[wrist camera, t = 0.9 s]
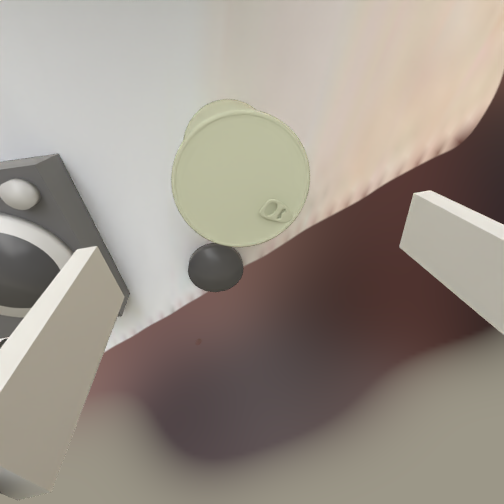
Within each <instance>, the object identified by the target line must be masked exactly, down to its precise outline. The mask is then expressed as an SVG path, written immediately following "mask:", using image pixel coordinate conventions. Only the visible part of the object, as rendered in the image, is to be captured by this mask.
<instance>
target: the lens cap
mask: <svg viewBox="0 0 504 504" xmlns="http://www.w3.org/2000/svg"><path fill="white" fill-rule="evenodd" d="M188 273H189V277H190V279H191V281H192V282H193V283H194V284H195V285H196V286H197V287H199V288H200V289H203V290H205V291H210V292H219V291H225V290H227V289H230V288H231V287H233V286H234V285H236V284H237V283H238V281H239V280H240V279H241V277H242V274H243V264H242V259H241V257H240V255H239V253H238V252H237V251H236V250H235V249H234V248H232V247H230V246H224V245H220V244H217V243H211V244H207V245H204V246H202V247H200V248H199V249H197V250H196V251H195V252H194V253H193V254H192V256H191V258H190V261H189V268H188Z"/></svg>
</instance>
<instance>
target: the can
mask: <svg viewBox="0 0 504 504" xmlns="http://www.w3.org/2000/svg"><path fill="white" fill-rule="evenodd" d="M171 184H172V192H173V197H174V200H175V203H176V206H177V208H178V210H179V212H180V214H181V215H182V217H183V218H184V220H185V221H186V222H187V224H188V225H189V226H190V227H191V228H192V229H193V230H194V231H195V232H197V233H198V234H199V235H201V236H202V237H204V238H206V239H208V240H210V241H212V242H214V243H217V244H220V245H224V246H230V247H248V246H253V245H257V244H261V243H264V242H266V241H269V240H271V239H272V238H274V237H276V236H277V235H279V234H280V233H282V232H283V231H284V230H285V229H287V228H288V227H289V226H290V225H291V224H292V223H293V221H294V220H295V219H296V217H297V216H298V214H299V213H300V211H301V209H302V208H303V205H304V203H305V201H306V198H307V195H308V191H309V184H310V168H309V162H308V158H307V155H306V152H305V150H304V147H303V145H302V144H301V142H300V140H299V139H298V137H297V136H296V134H295V133H294V132H293V131H292V130H291V129H290V128H289V127H288V126H287V125H286V124H285V123H283V122H282V121H280V120H279V119H277V118H275V117H273V116H271V115H269V114H267V113H264V112H261V111H257V110H256V109H255V108H253V107H252V106H250V105H248V104H246V103H244V102H241V101H238V100H232V99H223V100H217V101H214V102H211V103H209V104H207V105H205V106H204V107H202V108H201V109H200V110H199V111H198V112H197V113H196V114H195V115H194V116H193V117H192V119H191V120H190V122H189V124H188V126H187V128H186V131H185V135H184V140H183V142H182V144H181V145H180V147H179V149H178V151H177V154H176V156H175V159H174V163H173V168H172V175H171Z"/></svg>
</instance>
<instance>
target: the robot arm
mask: <svg viewBox="0 0 504 504" xmlns="http://www.w3.org/2000/svg"><path fill="white" fill-rule="evenodd" d="M399 247H400V248H401V249H402V250H403V251H405V252H406V253H407V254H408V255H409V256H410V257H412V258H413V259H414V260H415V261H416V262H418V263H419V264H420V265H421V266H422V267H424V268H425V269H426V270H427V271H428V272H429V273H431V274H432V275H433V276H434V277H435V278H437V279H438V280H439V281H440V282H442V283H443V284H444V285H445V286H446V287H447V288H449V289H450V290H451V291H452V292H454V294H456V295H457V296H458V297H459V298H460V299H462V300H463V301H464V302H465V303H467V304H468V305H469V306H470V307H471V308H473V309H474V310H475V311H476V312H477V313H478V314H479V315H481V316H482V317H483V318H484V319H485V320H487V321H488V322H489V323H490V324H492V325H493V326H494V327H495V328H496V329H498V330H499V331H500V332H501V333H502V334H503V335H504V225H503V224H501V223H499V222H496V221H494V220H492V219H490V218H488V217H486V216H484V215H482V214H479V213H477V212H475V211H473V210H471V209H469V208H467V207H465V206H463V205H460V204H458V203H456V202H454V201H452V200H450V199H447V198H446V197H443V196H441V195H439V194H437V193H435V192H433V191H424V192H418V193H414V194H413V198H412V201H411V205H410V209H409V212H408V216H407V220H406V224H405V227H404V231H403V235H402V239H401V242H400V246H399ZM123 300H124V295H123V293H122V291H121V289H120V287H119V286H118V284H117V282H116V280H115V278H114V276H113V274H112V273H111V271H110V269H109V267H108V265H107V263H106V261H105V260H104V258H103V256H102V254H101V252H100V250H99V248H98V247H97V246H94V247H88V248H82V249H77V250H76V251H75V252H74V254H73V255H72V256H71V258H70V259H69V260H68V262H67V263H66V264H65V265H64V267H63V268H62V269H61V271H60V272H59V273H58V274H57V276H56V277H55V278H54V280H53V281H52V282H51V284H50V285H49V286H48V287H47V289H46V290H45V291H44V293H43V294H42V295H41V296H40V298H39V299H38V300H37V302H36V303H35V304H34V306H33V307H32V308H31V309H30V311H29V312H28V313H27V315H26V316H25V317H24V319H23V320H22V321H21V322H20V324H19V325H18V326H17V328H16V329H15V330H14V331H13V333H12V334H11V335H10V337H9V338H7V339H4V340H2V341H1V342H0V493H1V494H4V495H6V496H8V497H11V498H13V499H15V500H20V499H25V498H29V497H33V496H38V495H42V494H46V493H51V491H52V489H53V486H54V483H55V481H56V478H57V475H58V473H59V470H60V467H61V465H62V462H63V459H64V457H65V454H66V451H67V449H68V446H69V444H70V441H71V438H72V435H73V433H74V430H75V427H76V425H77V422H78V420H79V417H80V414H81V411H82V409H83V406H84V404H85V401H86V398H87V396H88V393H89V390H90V388H91V385H92V382H93V380H94V377H95V374H96V372H97V369H98V366H99V364H100V361H101V358H102V356H103V353H104V350H105V348H106V345H107V342H108V340H109V337H110V335H111V332H112V329H113V327H114V324H115V321H116V319H117V316H118V313H119V311H120V308H121V305H122V303H123Z"/></svg>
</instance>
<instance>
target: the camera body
mask: <svg viewBox="0 0 504 504" xmlns="http://www.w3.org/2000/svg"><path fill="white" fill-rule="evenodd" d="M94 246H97V247H98V248H99V250H100V252H101V254H102V256H103V258H104V260H105V261H106V263H107V265H108V267H109V269H110V271H111V273H112V274H113V276H114V278H115V280H116V282H117V284H118V286H119V287H120V289H121V291H122V293H123V295H124V300H123V303H122V305H121V308H120V311H119V313H118V316H122V314H123V311H124V308H125V305H126V303H127V300H128V297H129V294H130V293H129V291H128V289H127V287H126V285H125V283H124V281H123V279H122V277H121V275H120V273H119V271H118V269H117V267H116V265H115V264H114V262H113V260H112V258H111V256H110V254H109V252H108V250H107V248H106V246H105V244H104V242H103V240H102V238H101V236H100V234H99V232H98V230H97V228H96V226H95V224H94V222H93V221H92V219H91V217H90V215H89V213H88V211H87V209H86V207H85V205H84V203H83V201H82V199H81V197H80V195H79V193H78V191H77V189H76V187H75V185H74V183H73V181H72V179H71V178H70V176H69V174H68V172H67V170H66V168H65V166H64V164H63V162H62V160H61V158H60V156H59V154H53V155H46V156H39V157H32V158H25V159H17V160H10V161H3V162H0V338H5V337H10V335H11V334H12V333H13V331H14V330H15V329H16V328H17V326H18V325H19V324H20V322H21V321H22V320H23V319H24V317H25V316H26V315H27V313H28V312H29V311H30V309H31V308H32V307H33V306H34V304H35V303H36V302H37V300H38V299H39V298H40V296H41V295H42V294H43V293H44V291H45V290H46V289H47V287H48V286H49V285H50V284H51V282H52V281H53V280H54V278H55V277H56V276H57V274H58V273H59V272H60V271H61V269H62V268H63V267H64V265H65V264H66V263H67V262H68V260H69V259H70V258H71V256H72V255H73V254H74V252H75V251H76V250H77V249H82V248H88V247H94ZM118 316H117V317H118Z"/></svg>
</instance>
